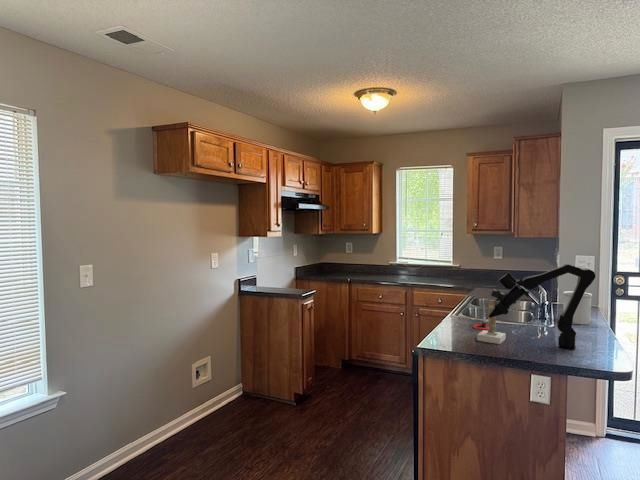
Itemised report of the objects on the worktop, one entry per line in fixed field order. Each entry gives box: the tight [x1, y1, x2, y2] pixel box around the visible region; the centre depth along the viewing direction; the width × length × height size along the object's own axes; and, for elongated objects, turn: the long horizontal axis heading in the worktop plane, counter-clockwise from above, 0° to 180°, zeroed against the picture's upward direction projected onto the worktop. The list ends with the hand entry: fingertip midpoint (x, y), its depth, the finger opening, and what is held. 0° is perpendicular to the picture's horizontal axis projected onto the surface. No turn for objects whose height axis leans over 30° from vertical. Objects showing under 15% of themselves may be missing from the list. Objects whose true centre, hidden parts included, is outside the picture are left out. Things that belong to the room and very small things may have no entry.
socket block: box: [476, 330, 507, 345], centre depth 220 cm, size 11×11×3 cm
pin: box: [487, 299, 497, 333], centre depth 220 cm, size 4×4×16 cm
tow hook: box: [472, 304, 488, 331], centre depth 244 cm, size 8×13×9 cm
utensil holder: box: [562, 290, 593, 325], centre depth 259 cm, size 15×15×18 cm
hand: (489, 316), depth 220 cm, fingers closed on pin, 4 cm apart
